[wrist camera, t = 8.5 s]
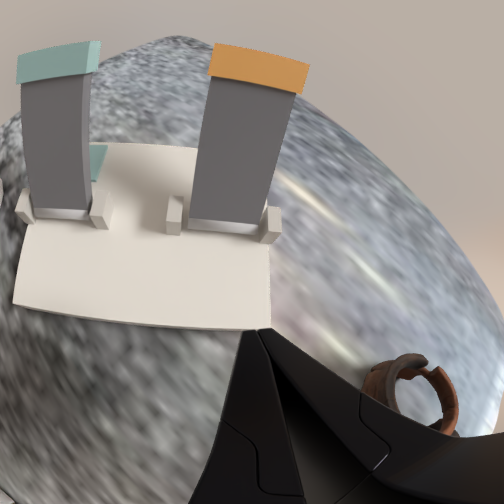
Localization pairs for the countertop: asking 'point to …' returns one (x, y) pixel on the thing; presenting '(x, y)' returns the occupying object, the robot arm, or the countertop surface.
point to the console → (145, 251)
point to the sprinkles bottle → (5, 498)
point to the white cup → (1, 191)
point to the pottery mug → (407, 367)
